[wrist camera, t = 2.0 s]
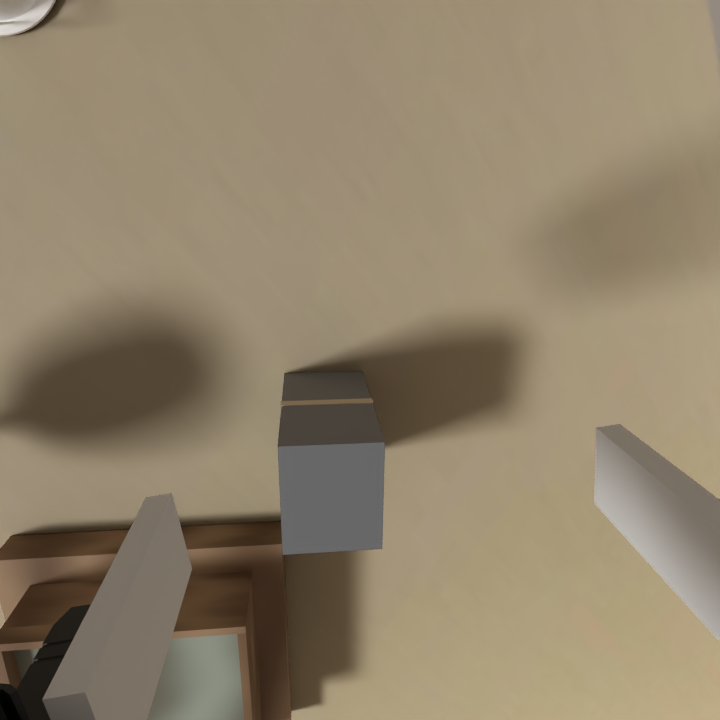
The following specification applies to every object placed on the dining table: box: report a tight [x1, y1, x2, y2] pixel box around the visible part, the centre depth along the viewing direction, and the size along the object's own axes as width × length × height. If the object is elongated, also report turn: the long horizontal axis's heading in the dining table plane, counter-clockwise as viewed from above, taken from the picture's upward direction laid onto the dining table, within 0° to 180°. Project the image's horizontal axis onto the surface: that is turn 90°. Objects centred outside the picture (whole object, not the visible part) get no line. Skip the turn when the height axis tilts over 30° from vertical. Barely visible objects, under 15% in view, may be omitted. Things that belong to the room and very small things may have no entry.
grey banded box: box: [278, 371, 385, 555], centre depth 31 cm, size 5×6×10 cm
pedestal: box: [0, 521, 291, 720], centre depth 36 cm, size 18×18×7 cm
